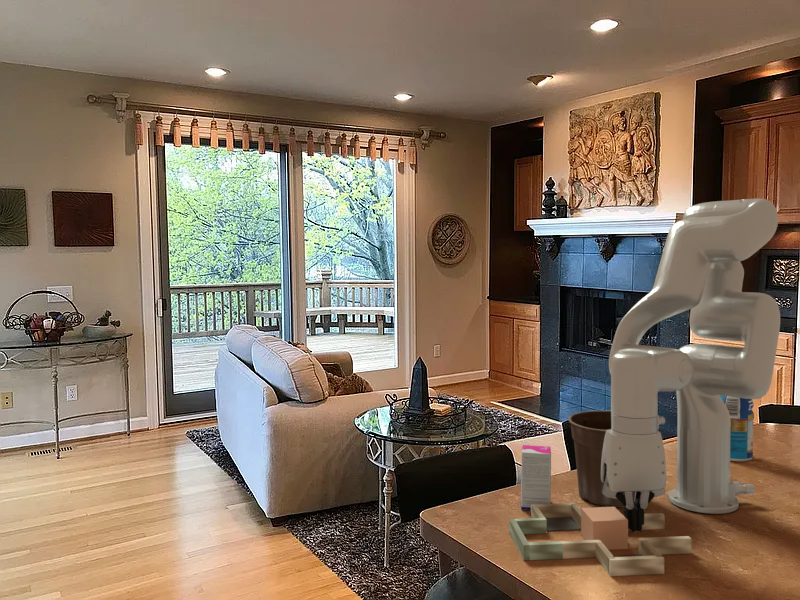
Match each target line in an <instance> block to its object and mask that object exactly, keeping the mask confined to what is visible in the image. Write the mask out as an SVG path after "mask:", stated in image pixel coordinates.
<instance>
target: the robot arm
mask: <svg viewBox="0 0 800 600" xmlns="http://www.w3.org/2000/svg"><path fill="white" fill-rule="evenodd" d="M778 224H779V215H778V210H777V207H776V206H775V205H774V204H773V202H771V200H768V199H766V198H744V199H732V200H717V201H715V200H714V201H709V202H708V201H707V202H706V201H705V202H701V203H697V204H693V205H692V206H689V207H688V208H686V210H685V211H684V213H683V216H682V219H681V220H678V221H677V222H675V223H673V224H672V225H671V227H670V229H669V230H668V234H667V235H666V240H665V242H664V247H663V251H662V254H661V258H660V262H659V265H658V269H657V272H656V276H655V279H654V283H653V286H652V289H651V290H650V291H649V292H648V293H647V294H646V295H645V296H643V297H642V298H641V299H639V300H638V301H637V302H636V303H635V304H634V305H633V306H632V307H631V308H630V309H629V311H628V312H627V313H626V314H625V315H624V316H623V317H622V318H621V320H620V321H619V324H618V326H617V328H616V330H615V334H614V336H613V341H612V344H611V348H610V351H609V357H608V370H609V373H610V411H611V429H609V430H606V433H605V438H604V443H603V450H602V459H601V481H602V482H603V483H604V486H603V490H602V493H603V494H604V495H605V496H606V497H609V498H614V499H618V500H619V501H620V502H621V503H622V504H623V505H624V507H623V515H624V516H625V517H626V518H627V519H628V528H629V529H630V530H629V531H630V532H631V533H636V532H638V533H642V532H643V530H642V525H644V514H645V509H647V508H648V504H649V503H650V502H651V501H652V500H654V498H657V497H661V496H664V495H666V493H667V490H666V485H667V462H666V460H667V459H666V453H665V447H664V441H663V437H662V433H661V431H659V430H660V429H659V428H660V427H659V426H661V425H665V423H666V418H665V416H661V415H659V414H658V407H659V404H658V403H659V397H658V395H659V394H658V393H659V392H675V393H676V403H677V407H676V408H677V411H676V412H677V423H676V424H677V428H676V429H677V431H676V433H677V439H676V440H677V441H676V443H677V445H676V446H677V447H676V451H677V456H676V457H677V458H676V460H677V461H676V462H677V463H676V464H677V465H676V466H677V467H676V470H677V471H676V474H677V475H676V479H677V480H676V481H677V482H676V487H674V488H672V489H671V490H670V491H669V492H668V499H669V501H670V502H671V503H672V504H673V505H674V506H677V507H679V508H680V509H681V508H682V509H685V510H687V511H691V512H696V513H700V514H701V513H702V514H711V515H714V514H715V515H717V514H719V515H720V514H722V515H723V514H729V513H732V512H735V511H736V510H738V509H739V507H740V506H739V503H740V501H739V499H738V497H739V496H740V495H755V493H756V488H755V485H754V484H753V483H746V484H745V483H743V484H742V483H741V482H740V481H739V480H738V481H732V480H731V461H730V427H731V420H730V414H729V411H728V409H727V407H726V405H725V404H724V402H723V400H722V399H721V397H720V396H719V395H722V396H730V397H737V398H744V399H752V400H758V399H759V400H760V399H762V398H764V397H765V396H766V395H767V393H768V392H769V391H770V388H771V384H772V381H773V374H774V370H775V363H776V362H775V361H776V358H777V357H776V356H777V349H778V342H779V337H780V330H781V329H780V328H781V311H780V308H779V307H780V306H779V305H778V302H777V301H776V299H775V298H774V297H772V296H771V295H769V294H767V293H762V292H756V291H755V292H752V291H751V292H749V291H748V292H747V291H743V285H744V284H743V283H744V276H745V269H744V267H743V264H742V261H745V260H747V259H749V258H751V256H753V255H754V254H755V253H757V252H758V251H759V250H760V249H762V248H763V247H764V246H765V245H767V243H768V242H769V241H771V240H772V238H773V237H774V236H775V233H776V231H777V228H778ZM686 311H690V312H689V327H690V329H691V332H692V333H693V335H696V336H698V337H701V338H703V339H707V340H708V339H709V340H719V341H731V342H743V343H744V347H741V346H729V345H723V344H722V345H720V344H709V343H691V344H686V345H683V346H681V347H680V348H679V349H677V348H672V347H666V346H665V347H663V346H654V345H643V344H640V342H641V341H642V338H643V336H644V335H645V334H646V332H647V331H648V330H650V329H651V328H652V327H653V326H654V325H657V324H658V323H660V322H661V321H664V320H666V319H669V318H671V317H673V316H675V315H678V314H681V313H684V312H686ZM632 492H635V496H634V503H633V498H632Z"/></svg>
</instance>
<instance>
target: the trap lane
mask: <svg viewBox="0 0 800 600" xmlns="http://www.w3.org/2000/svg"><path fill="white" fill-rule="evenodd" d="M622 515H623V516H624V514H622ZM508 520H509V524H508V525H509V526H508V527H509V529H508V530H509V535H510V537H511V538H512V540H513V542H514V544H515V547H516V548H517V550H518V551H519V555H520V556H521V558H522V560H523V561H535V560H536V561H539V560H561V559H562V560H563V559H567V560H568V559H582V558H583V559H584V558H585V559H586V558H587V559H588V558H596V559H597V560H598V562H599V563H600V565H601V566H602V567H603V569H605V571H606V572H607V574H608V575H609V576H610V577H620V576H621V577H622V576H643V575H645V576H647V575H664V574H665V557H664V556H663V555H681V554H682V555H683V554H692V538H691V537H690V536H689V535H682V536H661V537H660V536H658V537H655V536H654V537H638V539H637V541H638V542H637V543H638V546H637V548H638V549H637V550H638V551H637V552H638V553H636V554H615V555H614V554H613V553H612V552H611V551H610V550H608V549H607V548H606V547H605V545H604V544H603V543H602V542H601V540H584V539H582V540H559V541H557V540H555V541H554V540H553V541H535V542H533V541H531V542H529V541H528V539H527V538H526V536H525V535H540V534H541V535H542V534H545V535H547V534H548V533H547V532H557V531H558V532H561V531H562V532H563V531H581V508H580V507H579V506H578V504H576V502H566V503H565V502H562V503H551V504H534V505H531V510H530V517H529V518H527V517H525V518H524V517H523V518H509V519H508ZM665 524H666V523H665V514H664V513H662V512H661V513H660V512H657V513H655V512H654V513H644V525H642V531H644V530H665V528H666V527H665ZM628 531H631V530H630V529H629V528H628Z"/></svg>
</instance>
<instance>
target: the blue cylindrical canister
mask: <svg viewBox="0 0 800 600" xmlns="http://www.w3.org/2000/svg"><path fill="white" fill-rule="evenodd" d="M719 396H720V397H721V399H722V400H723V402H724V404H725V405H726V407H727V409H728V411H729V414H730V420H731V427H730V462H749V461H751V460H753V458H754V451H753V450H754V419H755V413H754V411H753V408H754V406H755V405H754V399H744V398H737V397H730V396H722V395H719Z"/></svg>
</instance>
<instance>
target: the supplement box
mask: <svg viewBox="0 0 800 600" xmlns="http://www.w3.org/2000/svg"><path fill="white" fill-rule="evenodd" d="M520 479H521V481H520V483H521V485H520V510H521V509H523V510H522V511H531V505H534V504H552V502H551V498H552V497H551V496H552V493H551V492H552V490H551V489H552V449H551V446H547V445H546V446H545V445H529V444H528V445H527V444H523V445H522V446H521V478H520Z"/></svg>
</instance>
